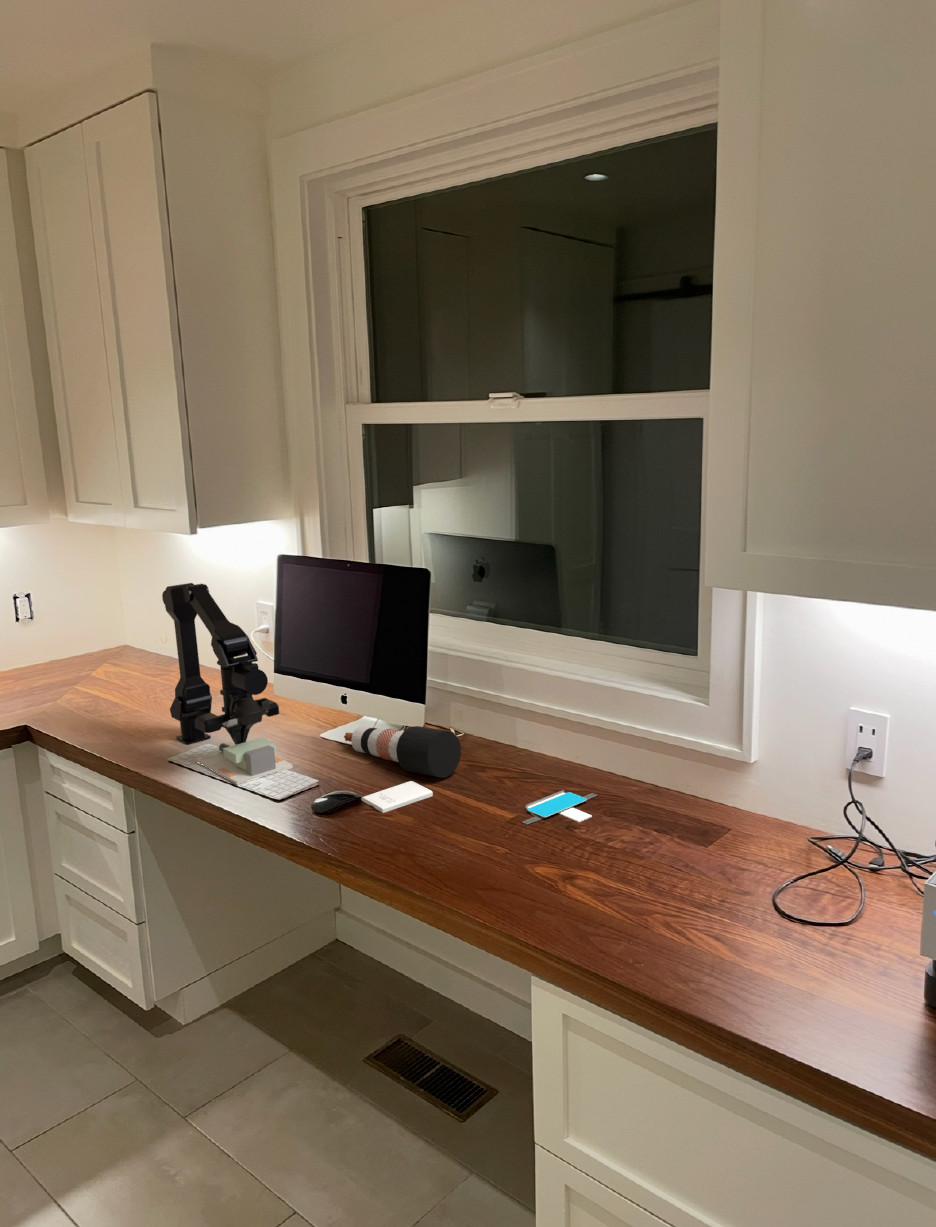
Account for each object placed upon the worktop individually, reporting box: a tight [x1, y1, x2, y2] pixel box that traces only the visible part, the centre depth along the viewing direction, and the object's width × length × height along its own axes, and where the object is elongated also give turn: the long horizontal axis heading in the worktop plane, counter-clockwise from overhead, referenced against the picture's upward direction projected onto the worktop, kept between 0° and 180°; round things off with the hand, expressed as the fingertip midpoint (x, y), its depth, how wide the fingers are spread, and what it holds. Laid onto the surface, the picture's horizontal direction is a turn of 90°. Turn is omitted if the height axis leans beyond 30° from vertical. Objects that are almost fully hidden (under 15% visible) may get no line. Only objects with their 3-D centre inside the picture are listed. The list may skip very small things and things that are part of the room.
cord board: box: [195, 742, 293, 785], centre depth 214 cm, size 20×14×6 cm
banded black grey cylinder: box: [343, 725, 462, 778], centre depth 213 cm, size 10×34×10 cm, turn 43°
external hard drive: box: [360, 780, 434, 814], centre depth 193 cm, size 2×8×12 cm
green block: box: [223, 736, 277, 770], centre depth 211 cm, size 6×10×4 cm, turn 132°
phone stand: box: [522, 789, 598, 825], centre depth 184 cm, size 20×12×2 cm, turn 130°
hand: (240, 750), depth 214 cm, fingers closed, pressing on green block
